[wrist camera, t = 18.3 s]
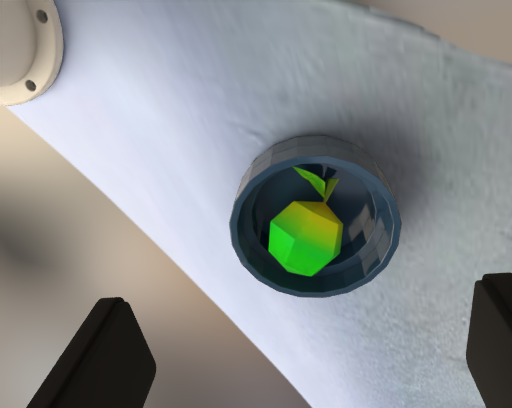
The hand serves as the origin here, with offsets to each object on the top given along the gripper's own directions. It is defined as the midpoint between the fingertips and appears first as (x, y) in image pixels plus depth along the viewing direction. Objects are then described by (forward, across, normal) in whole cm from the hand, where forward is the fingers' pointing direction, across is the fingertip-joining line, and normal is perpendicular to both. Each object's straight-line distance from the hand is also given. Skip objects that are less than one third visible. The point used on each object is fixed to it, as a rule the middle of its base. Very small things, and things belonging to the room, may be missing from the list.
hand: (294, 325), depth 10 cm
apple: (+18, +3, +12) cm, 22 cm away
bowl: (+22, 0, +9) cm, 24 cm away
